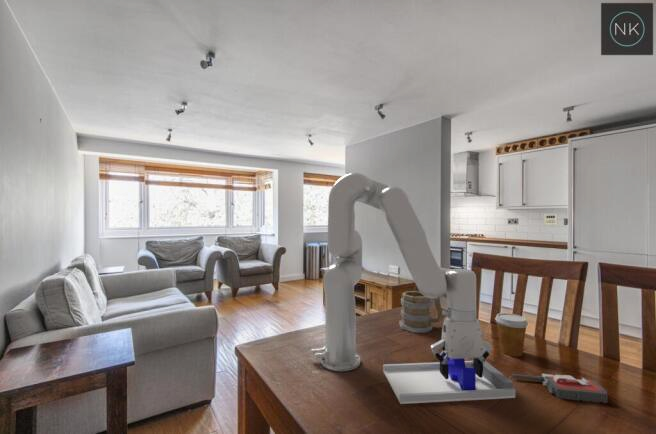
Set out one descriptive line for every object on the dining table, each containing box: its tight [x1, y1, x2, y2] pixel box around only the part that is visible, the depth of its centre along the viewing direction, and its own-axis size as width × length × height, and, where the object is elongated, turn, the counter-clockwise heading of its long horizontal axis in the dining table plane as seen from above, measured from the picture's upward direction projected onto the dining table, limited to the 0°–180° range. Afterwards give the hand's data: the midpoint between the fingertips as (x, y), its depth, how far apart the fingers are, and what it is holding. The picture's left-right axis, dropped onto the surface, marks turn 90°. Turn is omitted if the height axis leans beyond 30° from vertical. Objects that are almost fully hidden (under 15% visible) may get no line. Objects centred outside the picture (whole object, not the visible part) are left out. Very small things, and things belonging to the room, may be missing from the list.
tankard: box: [398, 290, 447, 334], centre depth 124 cm, size 20×13×15 cm, turn 88°
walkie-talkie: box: [511, 373, 608, 404], centre depth 78 cm, size 9×4×20 cm
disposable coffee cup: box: [494, 312, 529, 357], centre depth 101 cm, size 10×10×12 cm
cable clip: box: [447, 358, 476, 391], centre depth 82 cm, size 12×4×6 cm, turn 170°
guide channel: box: [382, 358, 516, 405], centre depth 81 cm, size 30×16×4 cm, turn 95°
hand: (461, 375), depth 82 cm, fingers open, 9 cm apart
